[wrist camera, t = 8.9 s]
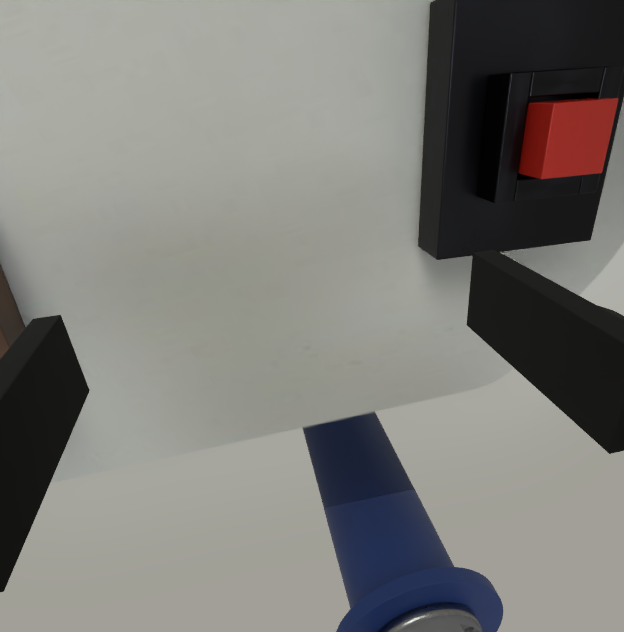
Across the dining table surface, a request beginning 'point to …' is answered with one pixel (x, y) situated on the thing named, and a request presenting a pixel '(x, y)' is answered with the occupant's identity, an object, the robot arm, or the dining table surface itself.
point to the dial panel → (8, 317)
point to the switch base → (510, 119)
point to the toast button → (566, 137)
